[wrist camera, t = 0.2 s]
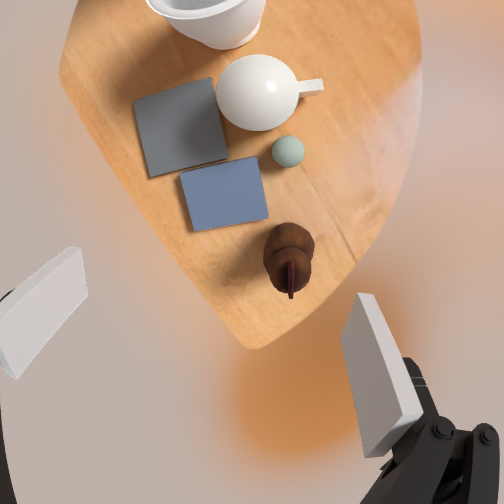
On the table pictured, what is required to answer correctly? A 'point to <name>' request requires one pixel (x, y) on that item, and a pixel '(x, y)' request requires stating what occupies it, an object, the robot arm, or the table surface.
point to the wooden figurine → (289, 257)
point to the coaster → (181, 127)
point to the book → (225, 194)
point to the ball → (288, 151)
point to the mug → (261, 92)
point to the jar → (213, 20)
